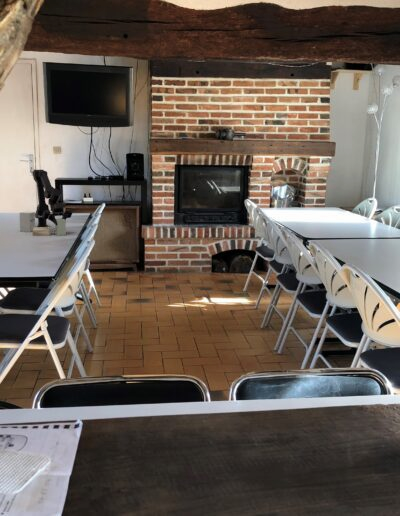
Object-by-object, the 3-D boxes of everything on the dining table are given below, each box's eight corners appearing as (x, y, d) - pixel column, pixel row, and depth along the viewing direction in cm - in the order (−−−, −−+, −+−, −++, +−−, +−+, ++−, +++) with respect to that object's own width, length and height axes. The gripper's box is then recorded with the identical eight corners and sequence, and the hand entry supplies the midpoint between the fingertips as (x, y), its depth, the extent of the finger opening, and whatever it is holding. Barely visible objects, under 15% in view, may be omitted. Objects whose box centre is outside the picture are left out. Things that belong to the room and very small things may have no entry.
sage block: (55, 234, 348) (55, 219, 346) (62, 233, 351) (62, 218, 349) (58, 235, 345) (57, 220, 342) (65, 235, 347) (65, 219, 345)
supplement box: (30, 232, 352) (29, 213, 349) (19, 231, 353) (19, 212, 351) (35, 230, 359) (35, 211, 356) (25, 229, 361) (24, 211, 358)
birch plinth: (34, 233, 350) (33, 227, 350) (49, 233, 353) (49, 227, 352) (32, 236, 341) (32, 230, 340) (49, 236, 343) (49, 230, 342)
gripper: (43, 198, 341) (49, 218, 334) (71, 197, 351) (78, 216, 345) (39, 209, 349) (45, 228, 342) (66, 208, 359) (73, 226, 353)
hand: (61, 224), depth 345 cm, fingers closed on sage block, 5 cm apart
